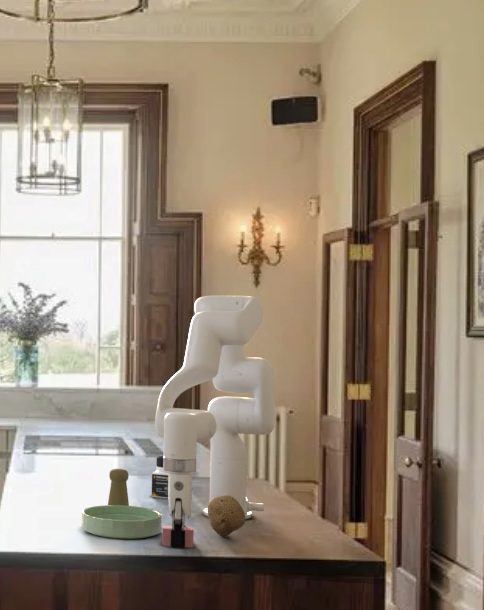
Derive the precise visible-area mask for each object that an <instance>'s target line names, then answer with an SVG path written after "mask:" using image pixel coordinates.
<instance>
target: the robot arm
mask: <svg viewBox="0 0 484 610" xmlns="http://www.w3.org/2000/svg"><path fill="white" fill-rule="evenodd" d="M193 309H194V310H193V311H194V315H193V316H192V319H191V322H190V326H189V331H188V336H187V337H188V338H187V343H186V349H185V355H184V359H183V360H184V361H183V365H182V367H181V368H180V369H179V370H178V371H177V372H176V373H175V374H173V376H171V377H170V379H168V381H167V382H166V383H165V385H164V386H163V388H162V390H161V391H160V394H159V397H158V400H157V407H156V410H155V411H156V412H155V419H154V429H155V432H156V434H157V435H158V436H159V437H160V438H162V439H163V455H164V456H163V472H165V473H168V498H167V500H168V513H169V516H170V517H171V526H172V529H171V546H170V548H175V549H185V548H186V547H185V530H184V527H187V526H186V525H185V524H186V523H185V522H186V519H185V517H187V518H188V519H189V518H191V516H192V500H193V499H192V497H193V494H192V493H193V481H192V475H195V474H197V450H198V449H197V447H198V446H197V445H198V443H205V442H208V441H210V455H209V456H210V457H209V458H210V459H209V460H210V461H209V502H210V501H211V500H212V499H213V498H215V497H217V496H222V495H229V496H232V497H233V498H235V499H236V500H237V501H238V502H239V503H240V505H241V507H242V509H243V511H244V513H245V517H246V518H245V520H249V519H251V518H252V517H253V513H252V511H256V512H264V511H265V504H264V503H259V502H251V501H249V500H248V497H247V476H248V475H247V474H248V471H247V470H248V450H247V446H246V444H245V443H244V441H243V439H242V438H241V437H240V435H239V434H241V435H242V434H243V435H256V436H265V435H269V434H271V433H272V432H273V431H274V429H275V425H276V393H275V389H276V388H275V372H274V368H273V365H272V363H271V362H270V361H269V360H268V359H266V358H263V357H249V356H248V357H247V356H246V354H245V345H246V344H247V343H248V342H249V341H250V340H251V339H252V337H253V336H254V334H255V333H256V332H257V330H258V329H259V327H260V326H261V323H262V321H263V317H264V307H263V304H262V302H261V300H260V299H259V298H258V297H256V296H252V295H223V294H222V295H219V294H218V295H217V294H216V295H215V294H214V295H205V296H200V297H199V298H197V299H196V300H195V302H194V308H193ZM211 380H212V384H213V387H214V388H215V389H216V390H217V391H219V392H223V393H230V394H231V393H232V394H247V395H249V394H250V395H252V396H253V397H243V396H229V395H227V396H218V397H215V398H212V400H210V402H209V404H208V406H207V410H205V409H192V408H179V407H174V404H175V402H176V400H177V399H178V397H179V396H180V395H181V394H183V393H184V392H185V391H187V390H189V389H191V388H192V387H195V386H198V385H200V384H203V383H205V382H208V381H211ZM203 515H204V516H206V517H208V512H207V507H206V508H204V509H203Z"/></svg>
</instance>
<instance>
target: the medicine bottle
mask: <svg viewBox="0 0 484 610" xmlns="http://www.w3.org/2000/svg"><path fill="white" fill-rule="evenodd" d="M163 456H164V454H159V455H157V456H156V462H155V463H156V465H155V466H156V470H155V471H153V472H152V473H151V497H152V498H157V499H158V498H159V499H168V473H165V472H163Z"/></svg>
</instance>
